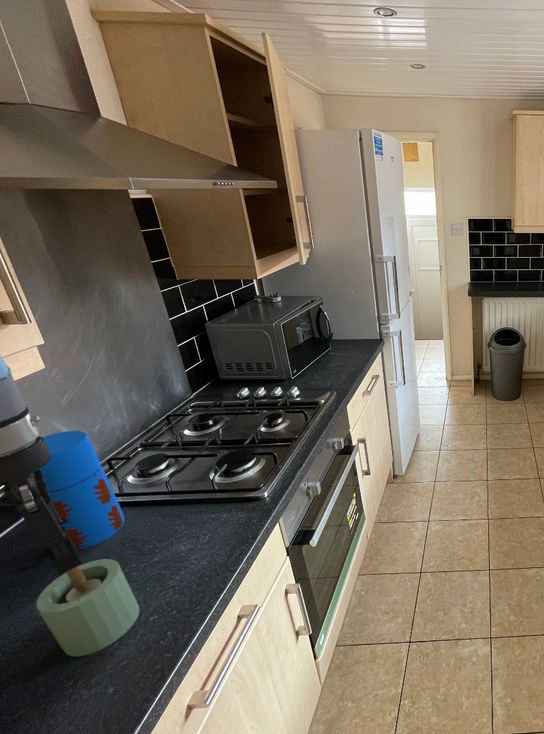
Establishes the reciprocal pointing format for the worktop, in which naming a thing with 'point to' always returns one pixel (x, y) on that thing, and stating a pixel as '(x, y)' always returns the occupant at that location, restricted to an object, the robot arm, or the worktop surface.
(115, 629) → the green faceted pot
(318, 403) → the worktop surface
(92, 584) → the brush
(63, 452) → the thermos
